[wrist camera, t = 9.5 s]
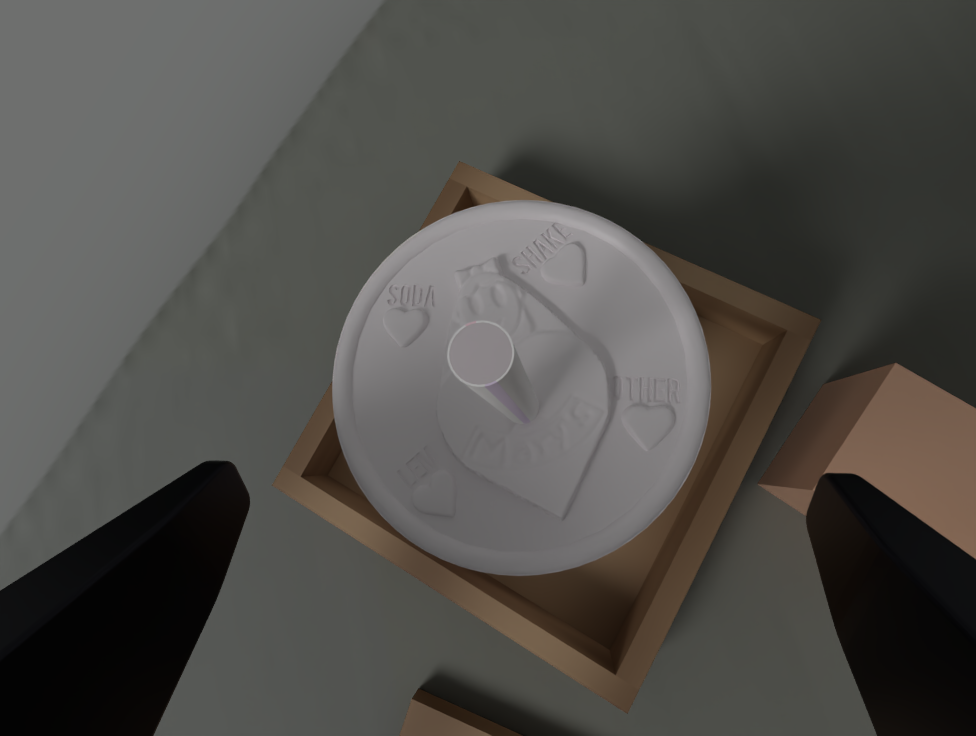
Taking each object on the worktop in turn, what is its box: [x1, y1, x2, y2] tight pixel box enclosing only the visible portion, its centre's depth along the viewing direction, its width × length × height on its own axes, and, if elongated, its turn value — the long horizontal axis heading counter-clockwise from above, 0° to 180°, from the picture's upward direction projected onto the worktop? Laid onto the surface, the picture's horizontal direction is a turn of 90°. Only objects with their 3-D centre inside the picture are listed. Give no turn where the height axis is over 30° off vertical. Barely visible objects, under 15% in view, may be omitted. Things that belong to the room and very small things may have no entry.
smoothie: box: [332, 200, 711, 576], centre depth 11 cm, size 6×6×14 cm
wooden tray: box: [272, 161, 821, 714], centre depth 17 cm, size 12×12×2 cm
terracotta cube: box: [758, 363, 976, 559], centre depth 15 cm, size 4×4×4 cm
